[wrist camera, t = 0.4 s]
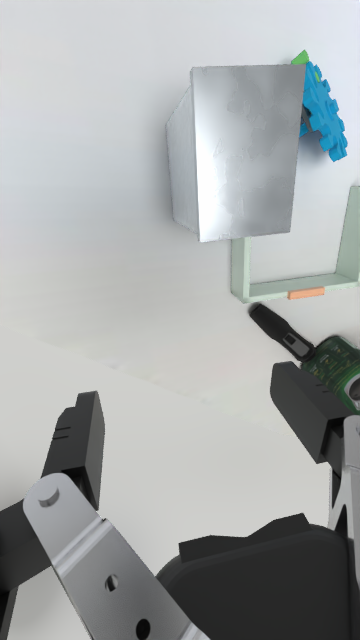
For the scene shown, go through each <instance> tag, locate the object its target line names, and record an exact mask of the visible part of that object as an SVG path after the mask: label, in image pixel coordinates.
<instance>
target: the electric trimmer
mask: <svg viewBox="0 0 360 640" xmlns="http://www.w3.org/2000/svg"><path fill="white" fill-rule="evenodd" d="M250 316H251V318H252V319H253V320H254V321H255V322H256V323H257V324H258V325H259V326H260V327H261V328H262V329H263V331H264V332H265V333H266V334H267V335H268V336H269V337H271V338H272V339H274V340H276V341H277V342H279V343H280V344H281V345H283V346H284V347H285V348H286V349H287V350H288V351H289V352H290V353H292V354H293V355H294V356H295V357H296V359H297V360H298V361H301V362H305V363H306V362H309V361H310V360H311V359H312V358H313V357H314V356H315V355H316V349H315V348H314V345H313V344H310V343H309V342H308V341H306V340H305V339H304V338H302V337H301V336H300V335H299V334H298V333H296V332H295V331H294V330H293V329H292V328H291V327H290V325H289V324H288V322H287V321H285V320H284V319H283V318H281V317H280V316H278V315H277V314H276V313H274V312H273V311H271V310H270V309H268V308H267V307H265V306H264V305H262V304H259V305H258V306H257V307H256V308H255V309H254V310H253V312H252V313H251V314H250Z"/></svg>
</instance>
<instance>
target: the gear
mask: <svg viewBox="0 0 360 640" xmlns="http://www.w3.org/2000/svg"><path fill="white" fill-rule="evenodd" d="M308 61H309V57H308V54H307V52H306V51H305V50H303V51H302V52H301V53H300V54H299V55H298V56H297V57H296V58H295V59H294V60H293V61H291V64H306V70H305V81H304V91H305V92H303V102H302V112H301V114H302V117H303V119H304V122H305V123H303V124H302V125H301V126H300V133H299V138H300V137H301V136H303V135H304V134H305V133H307V132H308V131H309V132H310V133H312V132H313V131H314V132H315V131H316V130H319V131H320V132H321V134H322V136H323V137H322V138H321V139H320V140H319V142H320V145H321V147H322V149H323V151H324V152H325V151H327V150H328V149H330V150H329V156H330V158H331V159H332V161H333V162H335V161H336V160H340V159H341V158H343V157H345V156H347V153H346V150H345V148H346V147H347V140H346V138H345V136H344V134H343V131H345V128H344V123H343V121H342V120H341V119H340V118H339V117H338V115H337V113H336V112H337V111H338V110H339V109H338V105H337V102H336V100H335V99H334V100H332V99H331V98H330V97H329V94H328V92H330V91H331V90H330V86H329V84H328V82H327V80H326V79H325V80H324V81H323V82H321V77H322V74H321V71H320V69H319V67H318V66H317V64H316V65H315V66H313V64H312V63H311V62H310V61H309V62H308ZM307 62H308V63H307ZM309 110H310V111H309ZM310 112H311V113H312V114H311V113H310Z"/></svg>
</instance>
